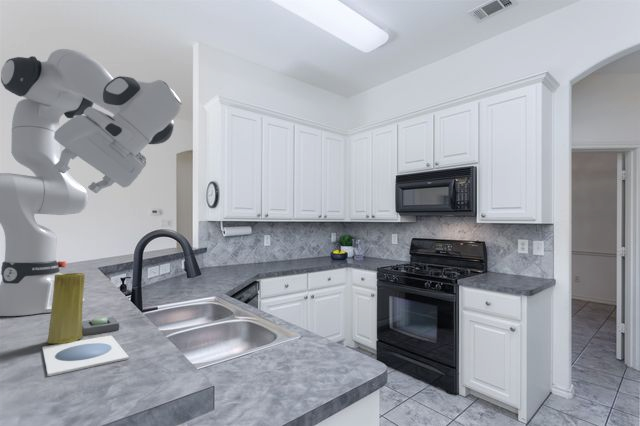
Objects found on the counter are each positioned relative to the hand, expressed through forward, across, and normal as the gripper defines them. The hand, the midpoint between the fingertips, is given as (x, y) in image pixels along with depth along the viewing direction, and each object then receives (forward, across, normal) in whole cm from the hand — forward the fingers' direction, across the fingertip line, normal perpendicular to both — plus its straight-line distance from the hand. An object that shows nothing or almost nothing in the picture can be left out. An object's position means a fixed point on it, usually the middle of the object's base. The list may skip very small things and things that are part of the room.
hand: (76, 181), depth 71 cm
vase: (+28, -12, +17) cm, 35 cm away
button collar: (+25, -21, +16) cm, 37 cm away
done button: (+25, -21, +16) cm, 37 cm away
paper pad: (+24, -7, +26) cm, 36 cm away
